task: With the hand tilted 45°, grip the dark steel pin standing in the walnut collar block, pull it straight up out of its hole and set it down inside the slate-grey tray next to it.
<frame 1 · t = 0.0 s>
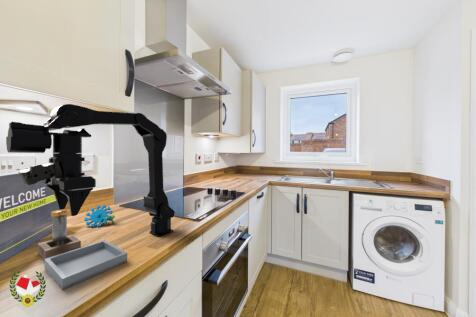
hand: (67, 212, 51), 15 cm above the counter, tool pointing down, fingers open, 9 cm apart
gear: (100, 225, 82), on the counter
collar block: (59, 251, 59), on the counter
steel pin: (59, 231, 59), in the collar block
tray: (87, 264, 53), on the counter
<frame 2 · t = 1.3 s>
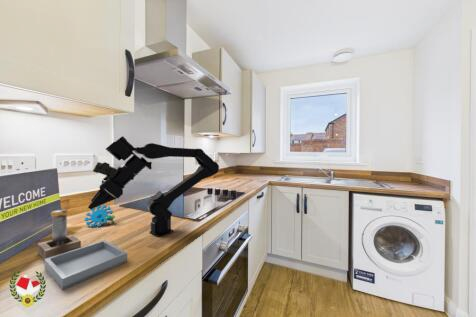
hand: (90, 204, 63), 14 cm above the counter, tool tilted 45°, fingers open, 9 cm apart
nothing on the counter moved.
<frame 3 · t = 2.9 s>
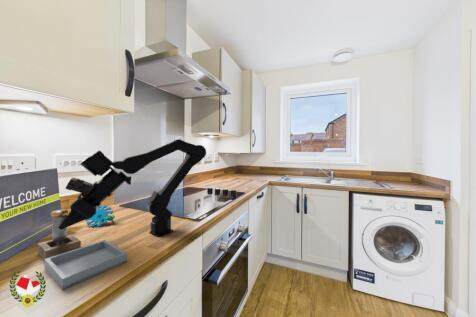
hand: (63, 223, 60), 9 cm above the counter, tool tilted 45°, fingers open, 9 cm apart
nothing on the counter moved.
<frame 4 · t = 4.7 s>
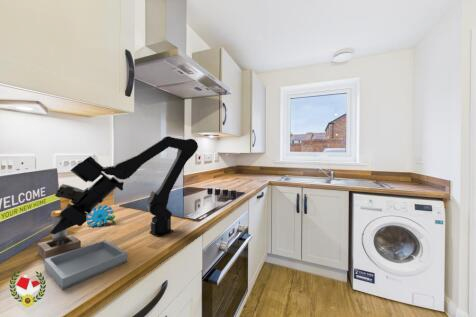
hand: (53, 231, 58), 7 cm above the counter, tool tilted 45°, fingers closed on steel pin, 3 cm apart
steel pin: (59, 231, 59), in the collar block, touching gripper
everything else where it was.
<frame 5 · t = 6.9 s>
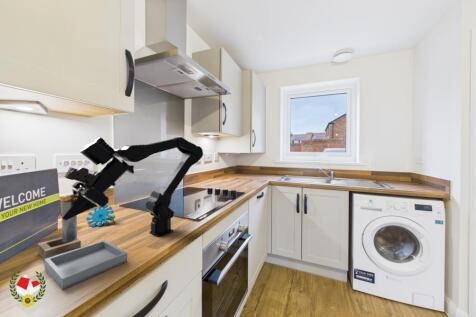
hand: (62, 217, 54), 12 cm above the counter, tool tilted 45°, fingers closed on steel pin, 3 cm apart
steel pin: (69, 217, 55), point 12 cm above the counter, touching gripper
everything else where it was.
when the fingers open (9 cm above the counter, at t = 8.9 s): steel pin drops 2 cm, resting on tray.
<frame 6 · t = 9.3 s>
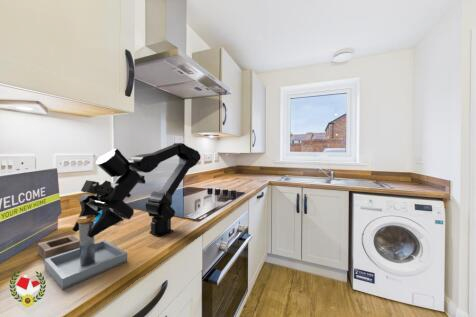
hand: (81, 233, 51), 9 cm above the counter, tool tilted 45°, fingers open, 7 cm apart
steel pin: (87, 239, 53), in the tray, point 7 cm above the counter
everything else where it was.
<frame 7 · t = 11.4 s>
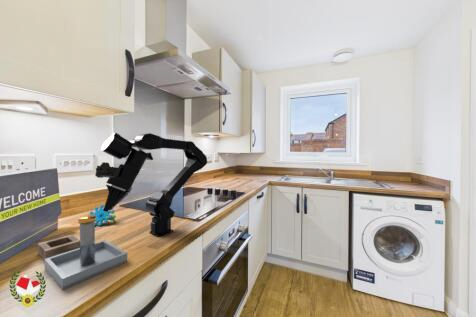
hand: (106, 210, 60), 13 cm above the counter, tool tilted 30°, fingers open, 9 cm apart
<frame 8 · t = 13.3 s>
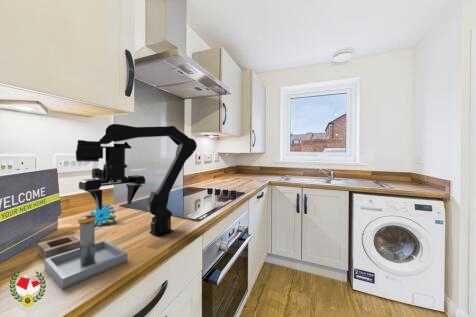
hand: (115, 206, 67), 12 cm above the counter, tool pointing down, fingers open, 9 cm apart
at the end: steel pin inside the target area on the tray (0.1 cm from its centre), point 6.9 cm above the tray's base; the gripper is holding nothing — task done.
